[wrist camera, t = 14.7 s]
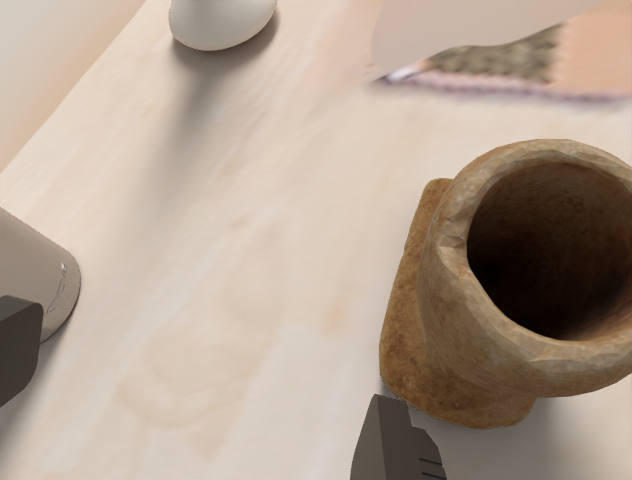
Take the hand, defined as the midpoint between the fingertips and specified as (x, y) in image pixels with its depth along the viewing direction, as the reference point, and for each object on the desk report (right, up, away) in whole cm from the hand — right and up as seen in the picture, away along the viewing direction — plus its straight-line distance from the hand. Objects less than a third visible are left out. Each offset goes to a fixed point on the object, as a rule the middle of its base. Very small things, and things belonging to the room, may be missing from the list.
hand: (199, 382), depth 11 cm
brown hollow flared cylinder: (+14, -1, +20) cm, 24 cm away
